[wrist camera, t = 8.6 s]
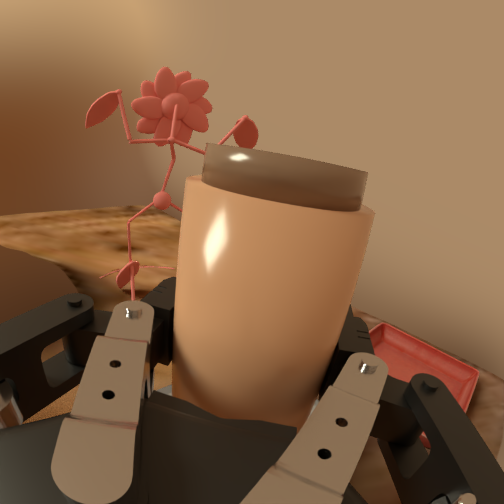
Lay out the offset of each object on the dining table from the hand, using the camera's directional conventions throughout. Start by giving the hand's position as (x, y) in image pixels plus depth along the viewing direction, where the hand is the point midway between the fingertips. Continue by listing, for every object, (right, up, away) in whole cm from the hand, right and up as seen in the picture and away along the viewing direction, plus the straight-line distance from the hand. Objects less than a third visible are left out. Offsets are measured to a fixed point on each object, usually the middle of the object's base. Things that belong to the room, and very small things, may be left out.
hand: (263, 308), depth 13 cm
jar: (-1, -6, -1) cm, 7 cm away
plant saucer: (+18, -16, +21) cm, 32 cm away
